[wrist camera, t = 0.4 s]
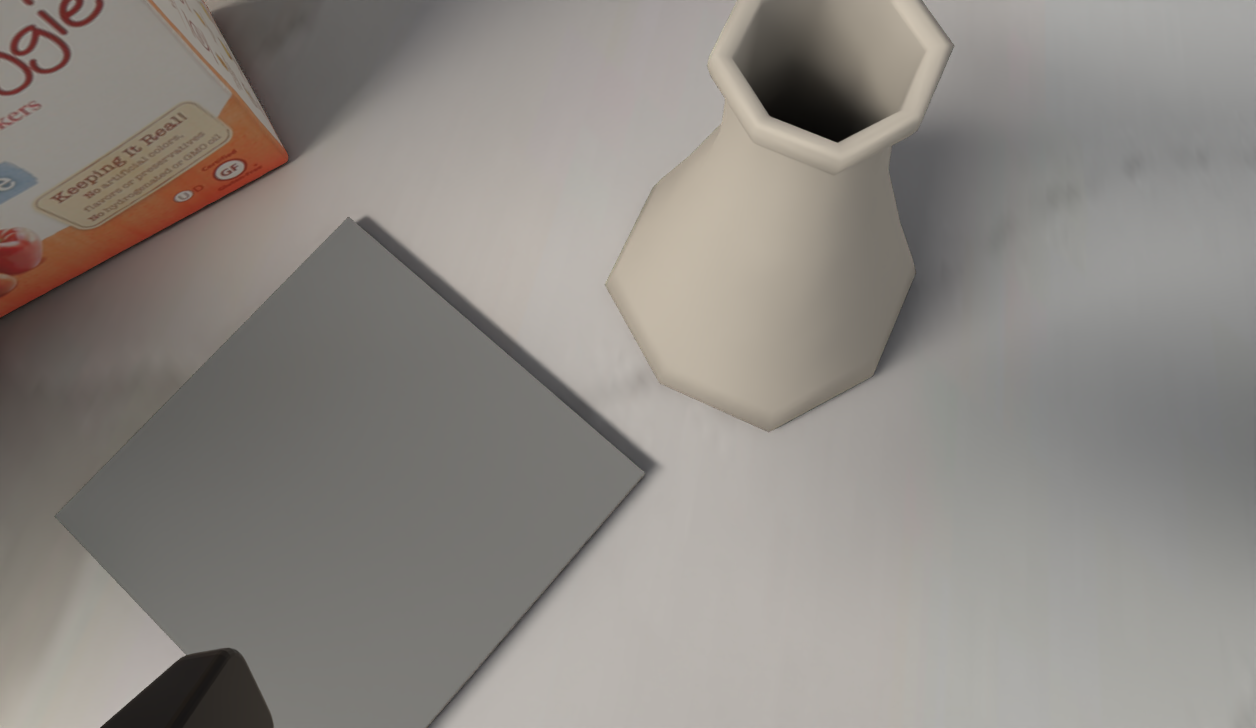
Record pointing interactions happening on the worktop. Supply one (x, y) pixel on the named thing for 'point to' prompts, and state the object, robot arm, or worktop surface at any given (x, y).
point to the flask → (785, 210)
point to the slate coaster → (351, 496)
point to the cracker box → (114, 131)
